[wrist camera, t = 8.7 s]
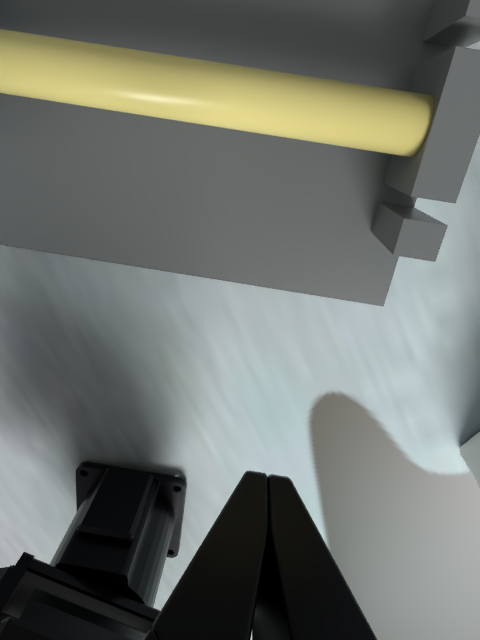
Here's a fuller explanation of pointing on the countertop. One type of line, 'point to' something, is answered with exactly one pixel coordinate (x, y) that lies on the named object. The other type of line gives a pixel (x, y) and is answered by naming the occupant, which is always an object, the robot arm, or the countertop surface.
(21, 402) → the countertop surface
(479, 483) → the medicine bottle
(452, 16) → the sliding rail with carriage
